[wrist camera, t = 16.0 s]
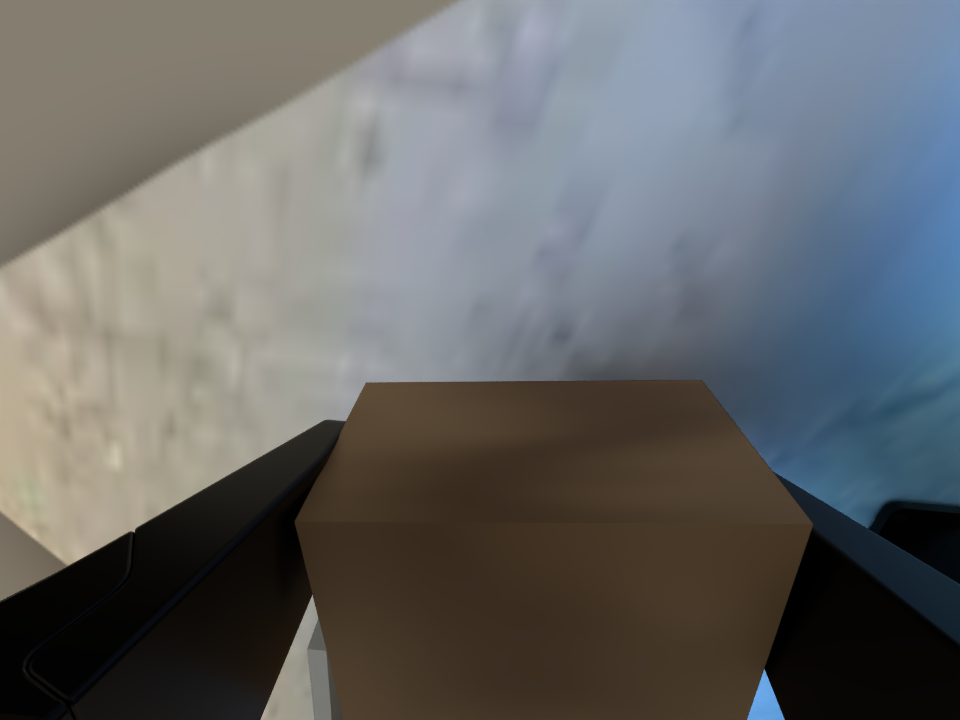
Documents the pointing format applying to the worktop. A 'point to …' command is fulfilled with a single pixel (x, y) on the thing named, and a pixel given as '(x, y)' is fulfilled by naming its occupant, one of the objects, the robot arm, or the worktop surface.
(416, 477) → the cardboard brown box
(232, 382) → the worktop surface
